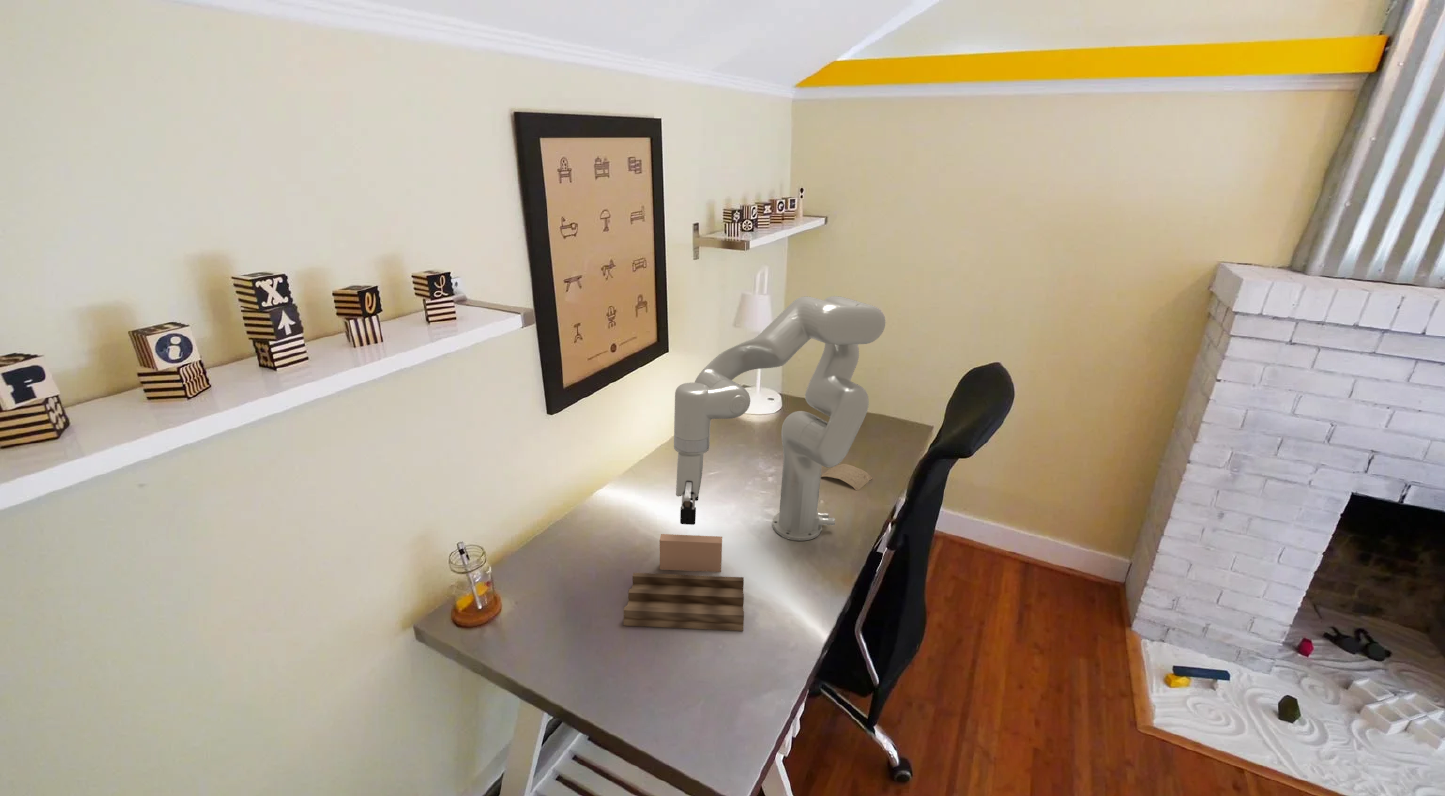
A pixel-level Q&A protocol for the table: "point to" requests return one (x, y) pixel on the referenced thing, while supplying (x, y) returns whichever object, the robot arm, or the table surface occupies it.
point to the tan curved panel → (849, 475)
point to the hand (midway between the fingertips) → (689, 511)
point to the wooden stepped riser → (685, 602)
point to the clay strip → (690, 552)
